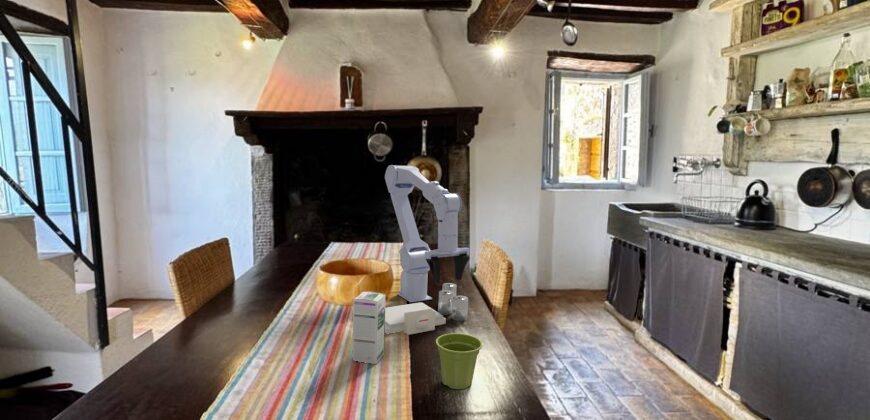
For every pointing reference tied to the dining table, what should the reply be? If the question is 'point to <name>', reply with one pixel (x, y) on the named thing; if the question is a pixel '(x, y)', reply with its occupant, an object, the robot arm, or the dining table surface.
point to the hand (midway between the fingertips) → (447, 280)
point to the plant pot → (458, 358)
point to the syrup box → (369, 327)
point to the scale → (412, 318)
